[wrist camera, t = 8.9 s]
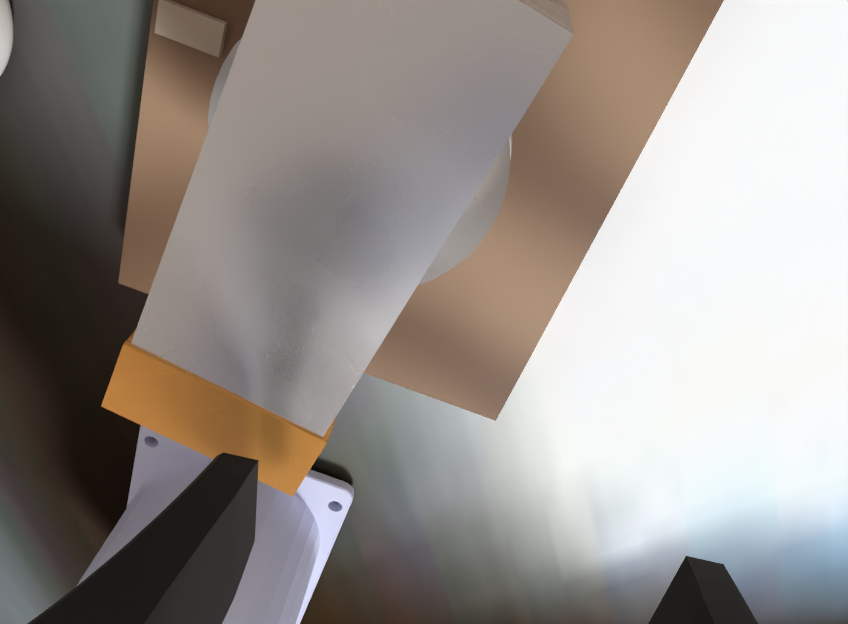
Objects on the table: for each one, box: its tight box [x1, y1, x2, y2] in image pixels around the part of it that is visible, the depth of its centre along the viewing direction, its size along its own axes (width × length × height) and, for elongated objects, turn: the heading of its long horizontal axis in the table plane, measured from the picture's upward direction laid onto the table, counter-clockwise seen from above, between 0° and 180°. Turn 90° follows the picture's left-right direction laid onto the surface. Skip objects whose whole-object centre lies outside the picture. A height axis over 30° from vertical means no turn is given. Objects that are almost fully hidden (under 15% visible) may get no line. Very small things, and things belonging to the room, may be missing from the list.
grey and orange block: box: [101, 0, 574, 497], centre depth 13 cm, size 6×9×5 cm, turn 152°
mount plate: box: [118, 0, 724, 421], centre depth 17 cm, size 16×12×4 cm
